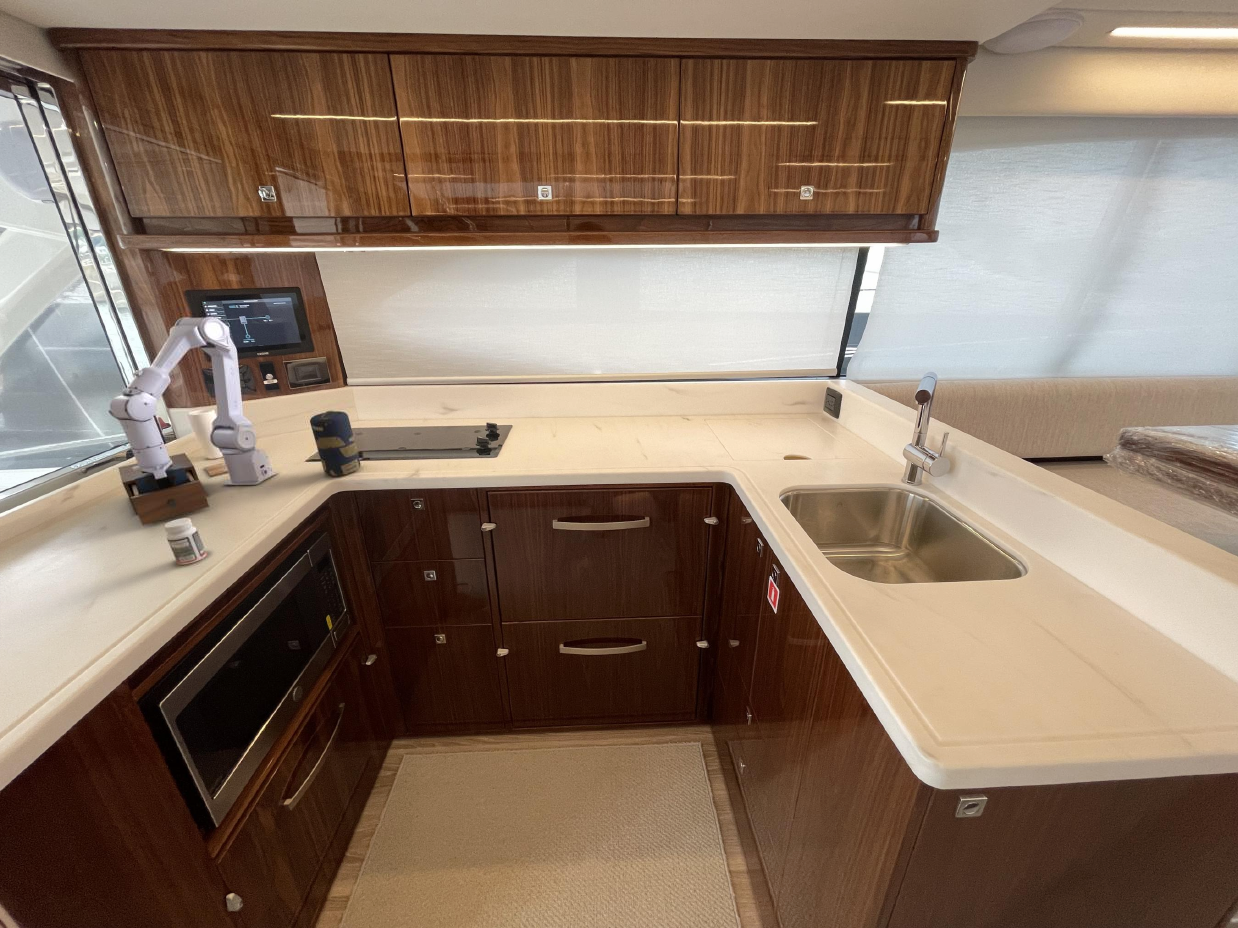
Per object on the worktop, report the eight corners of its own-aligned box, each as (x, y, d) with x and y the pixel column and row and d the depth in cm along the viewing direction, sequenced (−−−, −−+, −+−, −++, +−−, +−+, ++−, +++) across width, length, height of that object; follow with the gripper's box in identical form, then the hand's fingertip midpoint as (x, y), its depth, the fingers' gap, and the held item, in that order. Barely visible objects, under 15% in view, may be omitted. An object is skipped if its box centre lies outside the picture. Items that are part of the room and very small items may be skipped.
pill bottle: (196, 551, 104) (182, 515, 101) (212, 554, 103) (198, 518, 100) (171, 563, 100) (155, 526, 97) (187, 566, 99) (172, 529, 95)
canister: (369, 467, 146) (354, 407, 140) (342, 479, 138) (326, 416, 131) (344, 464, 149) (328, 405, 143) (316, 476, 141) (299, 414, 134)
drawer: (210, 507, 122) (200, 482, 119) (143, 526, 114) (131, 499, 111) (199, 490, 132) (190, 467, 130) (137, 507, 124) (126, 482, 122)
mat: (251, 466, 151) (251, 465, 151) (211, 476, 144) (210, 475, 144) (244, 459, 157) (244, 458, 157) (205, 468, 151) (204, 467, 151)
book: (195, 499, 125) (183, 467, 121) (148, 511, 119) (134, 479, 116) (193, 495, 127) (181, 464, 124) (147, 507, 121) (133, 475, 118)
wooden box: (205, 496, 131) (193, 465, 128) (136, 514, 122) (122, 482, 119) (195, 481, 141) (184, 452, 138) (131, 497, 132) (118, 467, 129)
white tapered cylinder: (216, 460, 157) (199, 414, 152) (198, 460, 158) (181, 414, 153) (235, 453, 163) (219, 408, 158) (218, 452, 165) (202, 408, 159)
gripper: (122, 443, 119) (144, 495, 124) (127, 457, 110) (150, 512, 115) (161, 436, 124) (180, 486, 129) (168, 448, 114) (189, 502, 119)
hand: (169, 498), depth 122 cm, fingers open, 6 cm apart
